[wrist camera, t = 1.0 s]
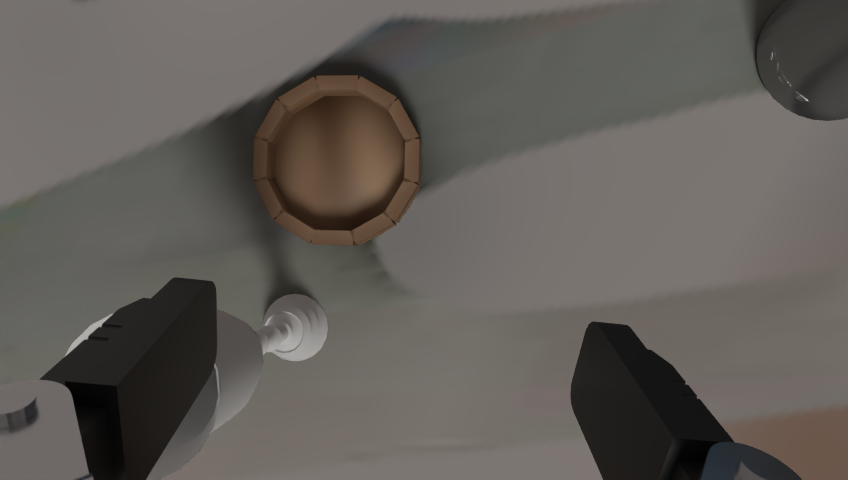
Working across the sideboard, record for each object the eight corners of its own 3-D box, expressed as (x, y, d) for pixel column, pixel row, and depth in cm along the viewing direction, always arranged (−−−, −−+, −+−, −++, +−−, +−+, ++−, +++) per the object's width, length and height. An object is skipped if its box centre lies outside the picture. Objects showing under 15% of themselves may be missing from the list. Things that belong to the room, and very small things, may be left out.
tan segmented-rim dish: (374, 55, 38) (368, 44, 36) (451, 195, 37) (449, 192, 35) (238, 135, 39) (225, 128, 37) (310, 273, 38) (301, 274, 36)
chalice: (309, 262, 38) (161, 273, 20) (359, 338, 38) (253, 418, 20) (232, 317, 39) (22, 375, 21) (280, 392, 38) (108, 518, 20)
